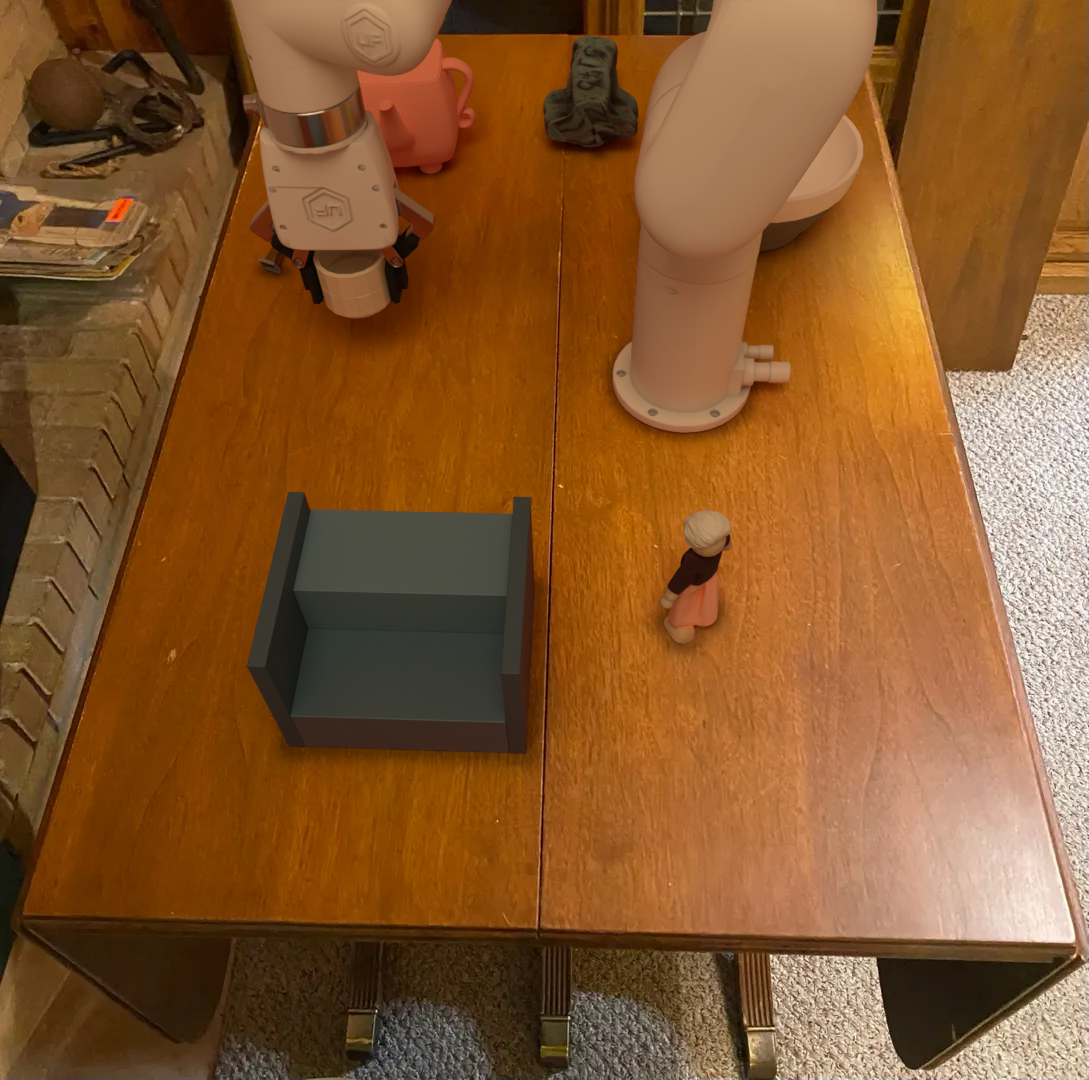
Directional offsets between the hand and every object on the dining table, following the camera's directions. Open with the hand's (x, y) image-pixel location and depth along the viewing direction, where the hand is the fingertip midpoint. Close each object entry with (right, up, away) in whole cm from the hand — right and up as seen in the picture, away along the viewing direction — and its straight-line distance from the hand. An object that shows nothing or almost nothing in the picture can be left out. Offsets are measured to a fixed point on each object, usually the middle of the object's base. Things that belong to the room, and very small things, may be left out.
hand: (359, 292), depth 92 cm
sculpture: (+22, +26, +27) cm, 44 cm away
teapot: (+1, +22, +24) cm, 33 cm away
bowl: (+38, +11, +16) cm, 43 cm away
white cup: (0, 0, +1) cm, 1 cm away
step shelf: (+7, -32, -14) cm, 36 cm away
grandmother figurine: (+28, -28, -12) cm, 42 cm away
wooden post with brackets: (-10, +8, +14) cm, 19 cm away
